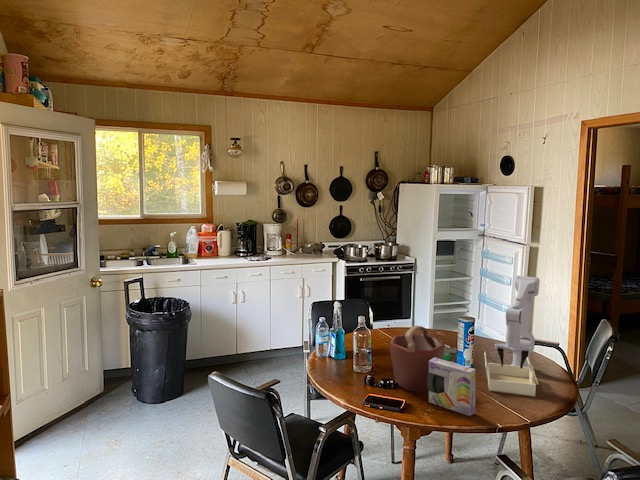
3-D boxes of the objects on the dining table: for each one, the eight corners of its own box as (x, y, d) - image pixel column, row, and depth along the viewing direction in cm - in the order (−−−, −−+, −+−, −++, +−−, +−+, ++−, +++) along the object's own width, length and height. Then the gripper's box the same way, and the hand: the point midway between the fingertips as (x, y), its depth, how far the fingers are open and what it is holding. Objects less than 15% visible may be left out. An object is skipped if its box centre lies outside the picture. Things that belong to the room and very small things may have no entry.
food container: (430, 361, 241) (430, 341, 239) (440, 360, 243) (441, 340, 242) (445, 370, 229) (445, 349, 228) (456, 369, 231) (457, 348, 230)
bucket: (419, 399, 198) (422, 339, 195) (375, 383, 213) (377, 327, 210) (450, 382, 216) (453, 326, 213) (408, 368, 231) (409, 316, 228)
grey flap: (486, 362, 226) (485, 362, 226) (485, 351, 226) (484, 351, 226) (488, 378, 207) (486, 378, 207) (486, 367, 207) (485, 367, 207)
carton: (487, 373, 226) (487, 362, 226) (529, 378, 221) (530, 367, 221) (488, 390, 207) (489, 379, 207) (535, 396, 202) (535, 384, 202)
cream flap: (537, 384, 201) (538, 384, 201) (531, 373, 202) (532, 373, 201) (531, 367, 220) (532, 366, 220) (526, 357, 221) (527, 356, 220)
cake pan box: (425, 401, 197) (426, 358, 195) (432, 397, 200) (433, 355, 198) (469, 418, 183) (471, 372, 181) (475, 413, 187) (478, 368, 185)
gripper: (495, 337, 210) (494, 367, 212) (532, 340, 206) (530, 372, 207) (495, 332, 217) (493, 362, 218) (530, 335, 212) (529, 366, 214)
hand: (511, 366), depth 213 cm, fingers open, 7 cm apart
